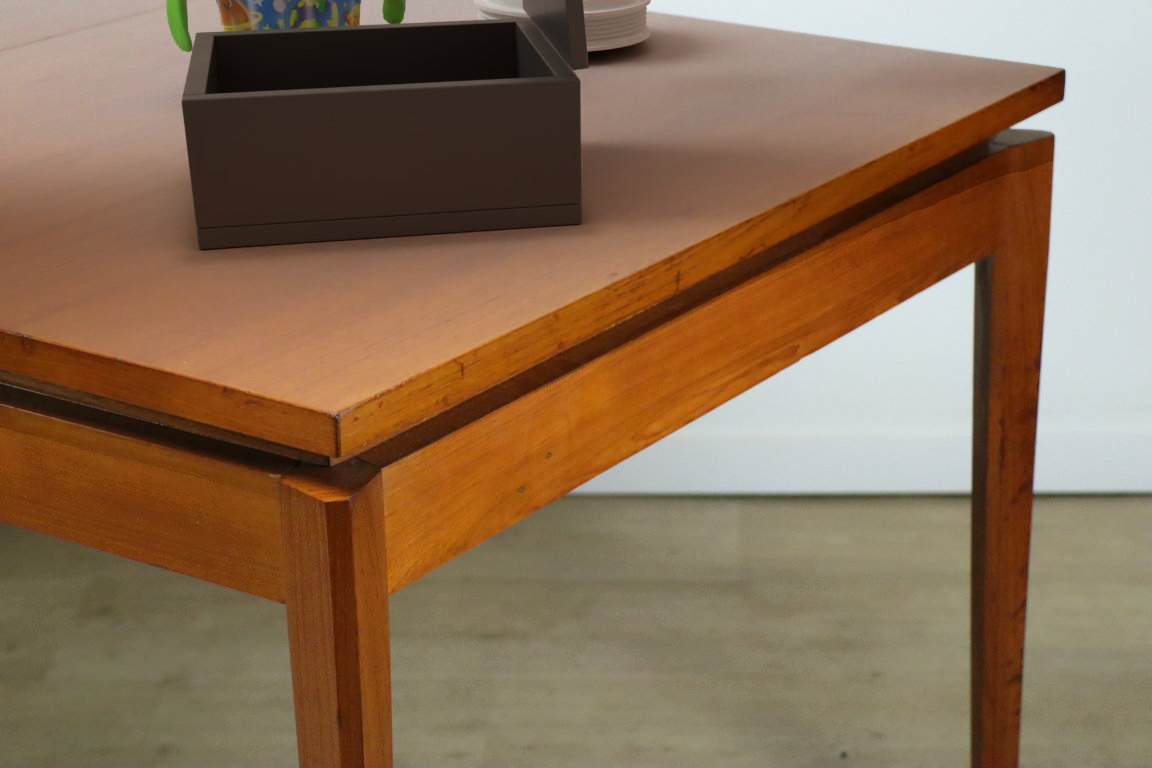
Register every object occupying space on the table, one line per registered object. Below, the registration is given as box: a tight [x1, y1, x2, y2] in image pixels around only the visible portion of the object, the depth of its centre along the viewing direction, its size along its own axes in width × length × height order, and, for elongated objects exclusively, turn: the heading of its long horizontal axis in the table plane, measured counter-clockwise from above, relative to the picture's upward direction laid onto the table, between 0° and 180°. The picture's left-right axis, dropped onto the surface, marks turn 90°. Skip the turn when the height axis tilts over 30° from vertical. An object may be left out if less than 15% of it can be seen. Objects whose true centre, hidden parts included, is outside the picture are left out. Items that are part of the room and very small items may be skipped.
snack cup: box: [166, 0, 407, 53], centre depth 96 cm, size 16×10×10 cm
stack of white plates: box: [472, 0, 652, 52], centre depth 108 cm, size 13×13×5 cm
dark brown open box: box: [181, 18, 583, 250], centre depth 77 cm, size 18×15×7 cm
